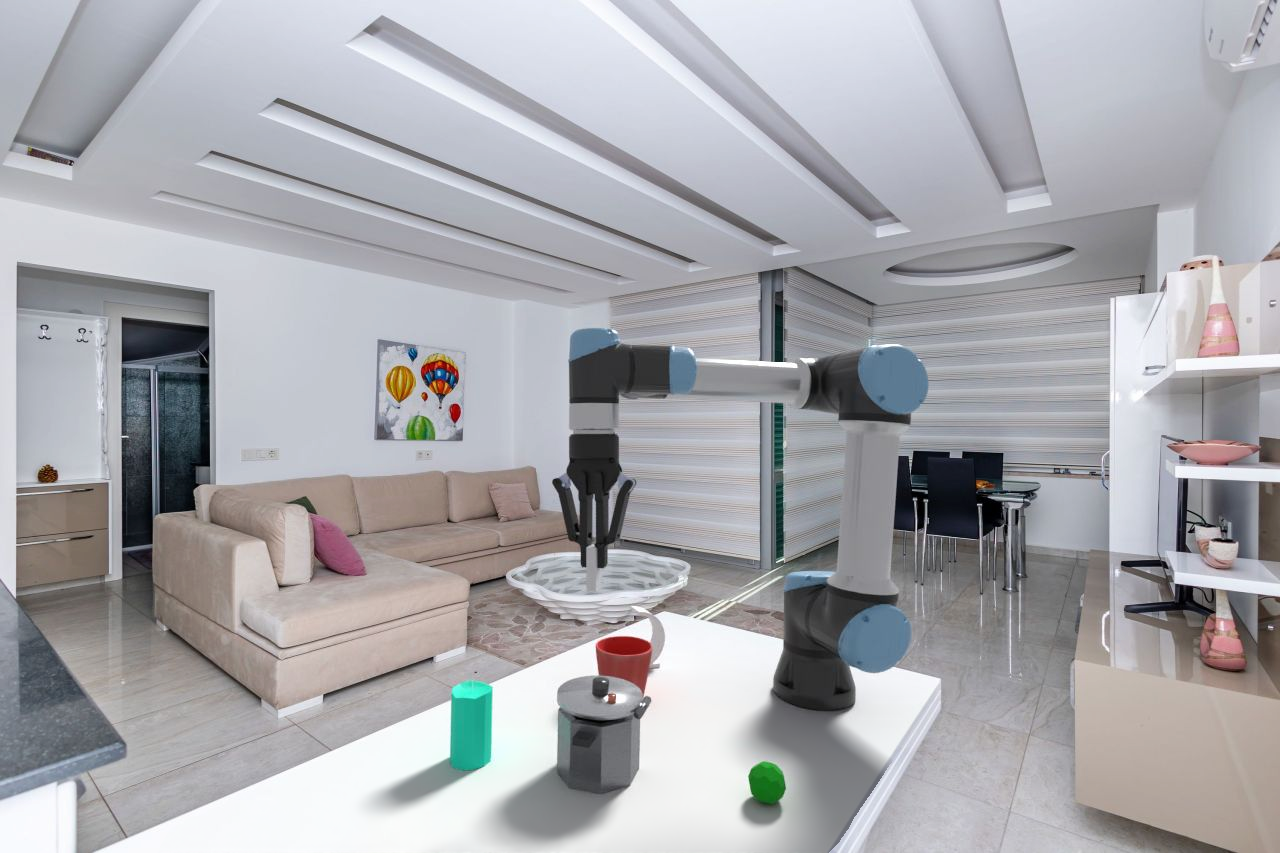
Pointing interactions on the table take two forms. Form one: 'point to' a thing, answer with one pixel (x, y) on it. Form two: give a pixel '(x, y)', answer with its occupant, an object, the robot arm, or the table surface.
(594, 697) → the lid
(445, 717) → the table surface
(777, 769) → the polyhedron
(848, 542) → the robot arm
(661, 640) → the headphone stand
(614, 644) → the flower pot
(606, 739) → the pot
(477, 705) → the candle
